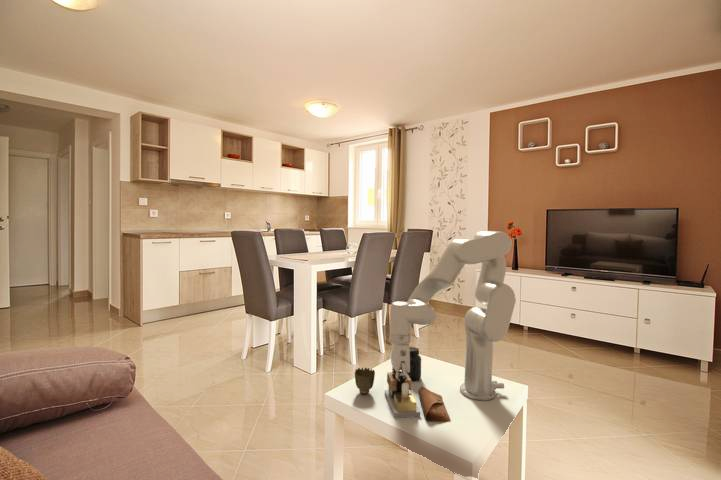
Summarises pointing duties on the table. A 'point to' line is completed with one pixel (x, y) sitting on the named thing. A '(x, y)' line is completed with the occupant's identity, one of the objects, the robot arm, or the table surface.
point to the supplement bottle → (414, 364)
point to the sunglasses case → (433, 406)
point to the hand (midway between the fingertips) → (398, 386)
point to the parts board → (394, 410)
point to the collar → (393, 381)
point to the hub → (405, 400)
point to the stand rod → (394, 391)
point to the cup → (364, 380)
